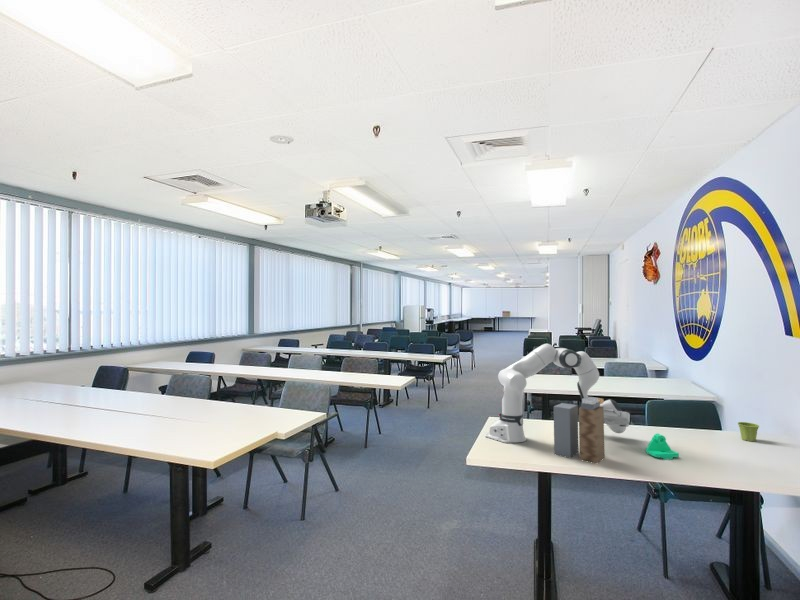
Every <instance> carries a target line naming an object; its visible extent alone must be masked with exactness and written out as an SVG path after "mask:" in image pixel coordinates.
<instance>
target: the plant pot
mask: <svg viewBox="0 0 800 600" xmlns="http://www.w3.org/2000/svg"><path fill="white" fill-rule="evenodd" d="M737 426H738V427H739V431H740V438H741V439H742V441H748V442H752V441H753V442H756V441H757V436H758V430H759V428H760V425H759V424H758V423H757V424H756V423H753V422H745V421H739V422H737Z"/></svg>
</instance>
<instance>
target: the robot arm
mask: <svg viewBox="0 0 800 600" xmlns="http://www.w3.org/2000/svg"><path fill="white" fill-rule="evenodd" d="M549 364H553V365H554V366H557V367H560V368H563V369H574V370H575V373H576V374H577V377H578V382H576V383H577V389H578V393H579V397H580V399H581V400H582V399H583V398H585V397H589V395H588V392H589V390H591V388H592V387H593V386H594V385H596V383H598V380H599V379H600V372H599V369H598V368H597V366H596V364H595V363H594V361H593V360H592V358H591V357H590V356H589V355H588V353H587V352H585V351H582V350H581V351H574V350H572V349H568V348H565V347H554V346H553V345H552V344H550V343H543V344H541V345H540V346H538V347H536V348H534V349H533V350H531V351H530V352H529V353H528V354H527V355H524V357H523V358H521V359H519V360H517V361H516V362H514V363H512V364H510V365H509V366H507V367H506V368H505V367H504V368H503V369H501V370H499V372H498V374H497V379H498V381H499V383H500V384H501V385H502V386H503V387H504V392H503V397H502V399H501V410H502V411H501V413H499V414H498V416H497V417H499V419H497V420H495V421H494V422H493V423H492V424H491V425H490V426H489V431H488V432H486V433H485V434H484V435H485V436H484V437H485V438H488V439H491V440H495V441H497V440H498V441H497V442H500V443H501V442H502V443H505V444H506V443H509V444H510V443H523V442H526V440H527V439H526V436H525V431H524V414H523V397H524V391H525V388H526V386H527V385H528V383H527V379H528V378H530V377H532V376H533V377H534V376H535V375H536V374H537V373H539V372H540V371H542V370H543V369H544V368H546V367H547V366H548V365H549ZM600 406H602V407H603V408H604V424H605V425H606V426H607V427H608V428H609V429H610V430H611V431H612V432H614V433H615V434H623V433H624V432H625V431H626V430H627V427H629V425H630V420H631V413H630V412H629V411H623V410H622V408H621V406H620V405H619V404H618V402H617V401H615V400H614V399H606V400H604V403H602V404H600Z"/></svg>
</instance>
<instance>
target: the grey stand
mask: <svg viewBox="0 0 800 600" xmlns="http://www.w3.org/2000/svg"><path fill="white" fill-rule="evenodd" d="M553 449H554V451H553V453H554V455H555V454H556V456H560V455H561V457H564V456H566V457H565V458H569V457H571V458H573V457H574V456H575V455H577V454H578V453H580V450H579V405H578V404H573V403H566V402H561V403H558V404H555V405H554V406H553ZM576 453H577V454H576ZM573 455H574V456H573Z"/></svg>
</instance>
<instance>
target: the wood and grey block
mask: <svg viewBox="0 0 800 600" xmlns="http://www.w3.org/2000/svg"><path fill="white" fill-rule="evenodd" d="M604 401H605V400H604V398H602V397H601V398H600V397H594V396H588V397H585V398H583V399H581V403H580V407H581V409H588V410H595V409H597V408H599V407H600V404H602V403H604Z"/></svg>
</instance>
